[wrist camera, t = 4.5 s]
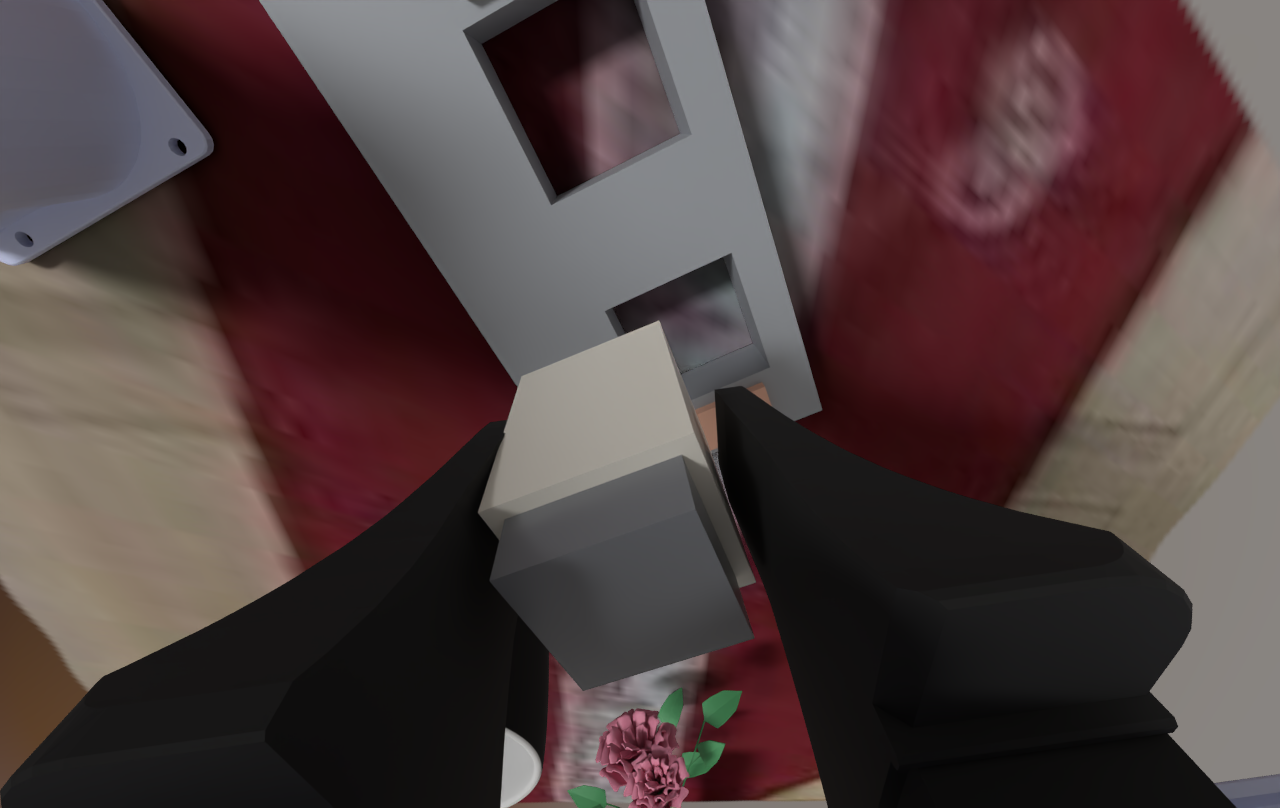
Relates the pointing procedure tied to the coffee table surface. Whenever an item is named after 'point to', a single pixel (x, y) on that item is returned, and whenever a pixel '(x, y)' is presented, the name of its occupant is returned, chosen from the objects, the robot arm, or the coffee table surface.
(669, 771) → the flower vase
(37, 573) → the coffee table surface
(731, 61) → the coffee table surface
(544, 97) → the coffee table surface
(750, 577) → the plug
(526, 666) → the mug
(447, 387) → the coffee table surface
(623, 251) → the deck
